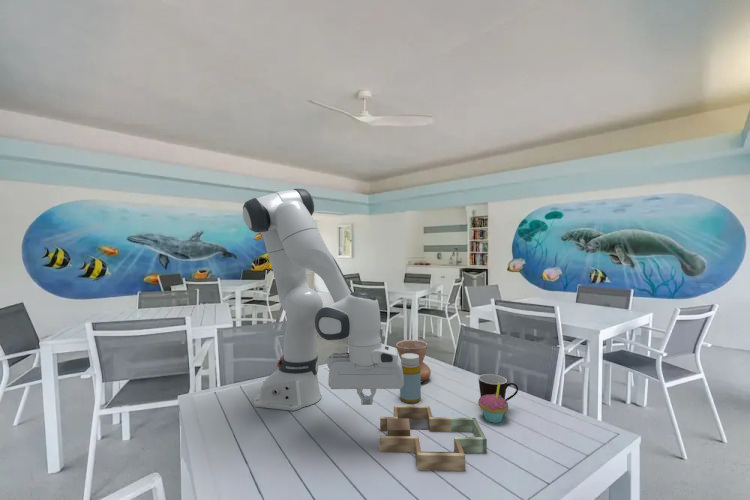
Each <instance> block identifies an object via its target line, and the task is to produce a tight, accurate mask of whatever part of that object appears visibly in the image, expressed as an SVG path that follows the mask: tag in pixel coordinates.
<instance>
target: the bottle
mask: <svg viewBox="0 0 750 500" xmlns="http://www.w3.org/2000/svg"><path fill="white" fill-rule="evenodd" d="M400 361H401V364H402V369H403V377H404V386H403V387H402V388H401V389H399V398H400V400H401V401H402V402H403V403H406V404H417V403H419V401H420V400H421V398H422V397H421V396H422V395H421V392H422V391H421V389H422V388H421V384H422V382H421V371H420V367H419V355H417V354H414V353H405V354H402V355H401V359H400Z"/></svg>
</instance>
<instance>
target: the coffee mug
mask: <svg viewBox="0 0 750 500" xmlns="http://www.w3.org/2000/svg"><path fill="white" fill-rule="evenodd" d="M477 379H478V386H479V394H480V397H482V396H483V395H486V394H487V395H489V394H496V392H497V386H498V383H499V381H500V388H499V394H498V395H499V396H501V397H502V398H504V400H506V401H507V402H508V401H509V400H511V399H513V398H514V397H515V396H516V395H517V394H518V392H519V387H518V385H517V384H516V383H514V382H509V383H508V380H507V378H506V377H504V376H501V375H499V374H498V375H497V374H492V373H486V374H485V373H484V374H480V375H479V376H478V378H477ZM509 386H514V387H515V392H514V393H513V394H512V395H510V396H508V397H506V392H507V389H508V387H509Z"/></svg>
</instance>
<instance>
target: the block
mask: <svg viewBox="0 0 750 500" xmlns="http://www.w3.org/2000/svg"><path fill="white" fill-rule="evenodd" d="M386 436H411V429H410V424H409V419H396V418H387V431H386Z"/></svg>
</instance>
